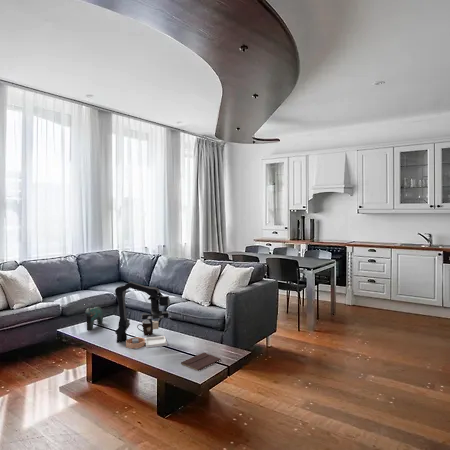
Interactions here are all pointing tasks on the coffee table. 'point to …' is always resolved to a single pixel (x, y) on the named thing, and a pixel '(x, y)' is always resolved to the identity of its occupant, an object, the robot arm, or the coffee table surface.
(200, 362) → the notebook
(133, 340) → the grey block
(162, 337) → the tray
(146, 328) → the coffee mug
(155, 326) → the taupe block
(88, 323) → the green animal figure
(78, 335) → the coffee table surface
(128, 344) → the terracotta bowl
